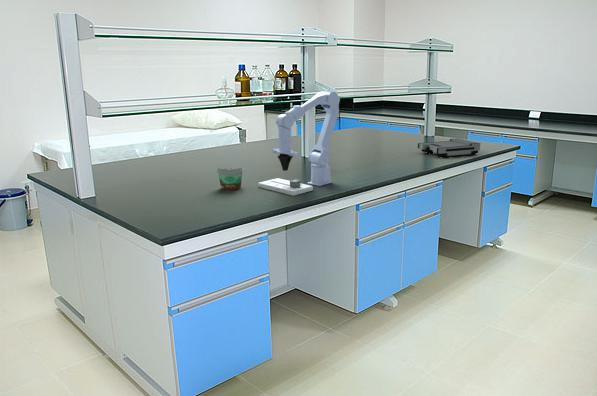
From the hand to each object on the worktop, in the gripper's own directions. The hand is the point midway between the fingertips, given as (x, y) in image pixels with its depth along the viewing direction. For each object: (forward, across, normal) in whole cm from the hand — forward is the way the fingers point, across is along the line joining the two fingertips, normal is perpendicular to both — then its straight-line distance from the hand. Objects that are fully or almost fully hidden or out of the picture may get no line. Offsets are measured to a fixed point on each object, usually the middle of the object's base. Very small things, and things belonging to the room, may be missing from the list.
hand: (285, 170), depth 227 cm
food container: (+9, -17, -18) cm, 26 cm away
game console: (+10, +15, +133) cm, 135 cm away
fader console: (+9, 0, 0) cm, 9 cm away
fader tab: (+6, +6, 0) cm, 9 cm away
